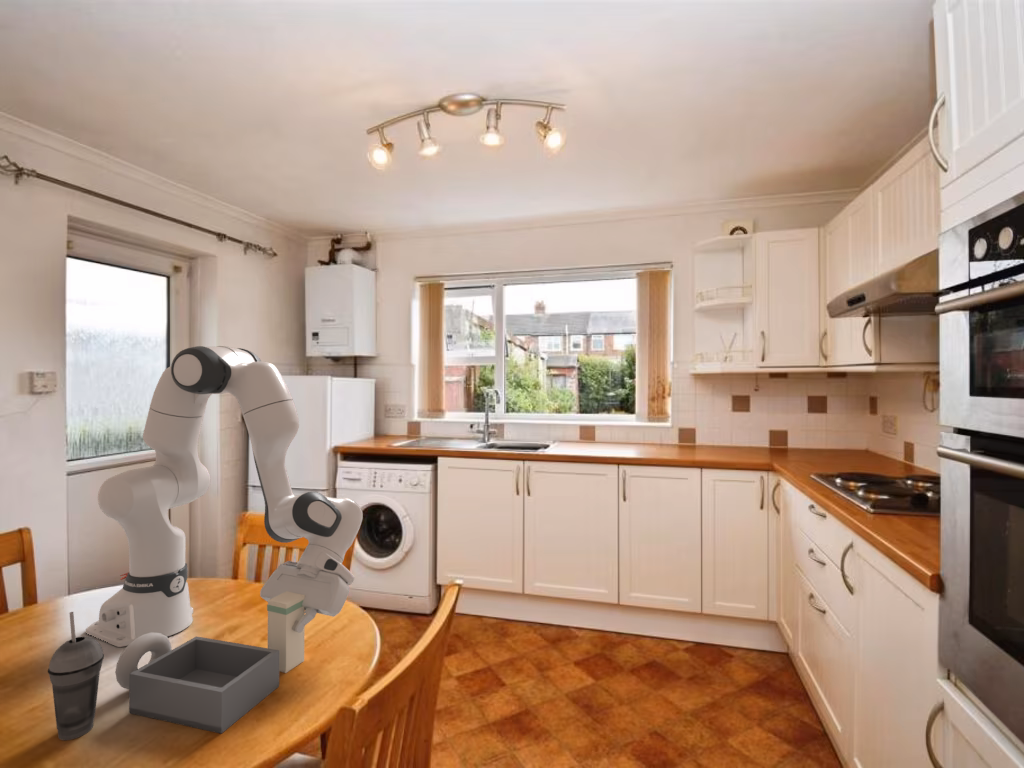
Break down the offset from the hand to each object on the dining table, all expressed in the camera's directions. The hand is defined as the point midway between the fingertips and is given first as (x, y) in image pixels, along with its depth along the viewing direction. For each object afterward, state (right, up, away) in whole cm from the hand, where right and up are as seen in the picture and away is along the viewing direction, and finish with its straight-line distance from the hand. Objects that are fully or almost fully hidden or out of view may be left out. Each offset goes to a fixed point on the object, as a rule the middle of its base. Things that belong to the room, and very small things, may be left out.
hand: (284, 628), depth 107 cm
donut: (-24, -8, -8) cm, 26 cm away
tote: (-9, -8, -11) cm, 17 cm away
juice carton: (0, -8, +1) cm, 8 cm away
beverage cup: (-26, -8, -20) cm, 34 cm away
